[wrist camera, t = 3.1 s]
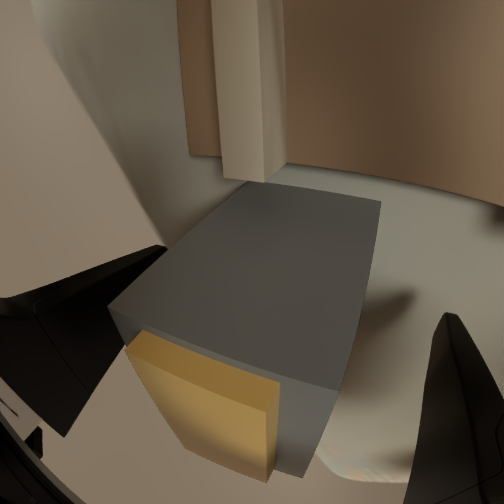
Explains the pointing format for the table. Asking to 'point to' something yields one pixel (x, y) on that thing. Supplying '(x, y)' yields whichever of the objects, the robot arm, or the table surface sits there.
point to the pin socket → (349, 88)
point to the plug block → (253, 323)
